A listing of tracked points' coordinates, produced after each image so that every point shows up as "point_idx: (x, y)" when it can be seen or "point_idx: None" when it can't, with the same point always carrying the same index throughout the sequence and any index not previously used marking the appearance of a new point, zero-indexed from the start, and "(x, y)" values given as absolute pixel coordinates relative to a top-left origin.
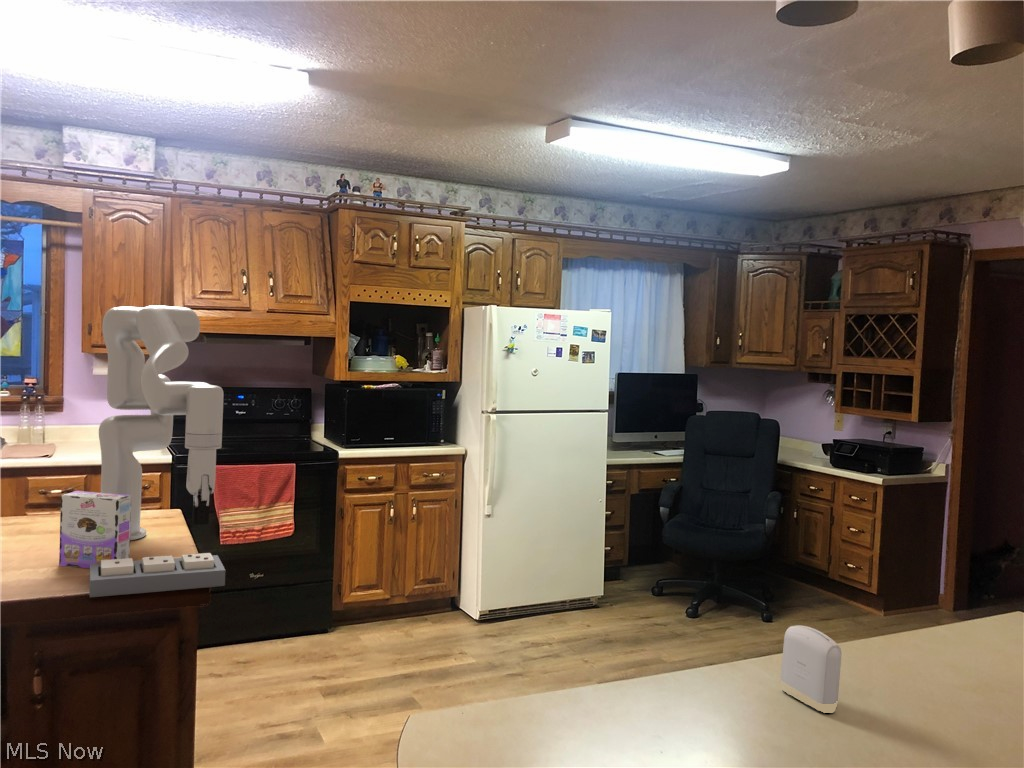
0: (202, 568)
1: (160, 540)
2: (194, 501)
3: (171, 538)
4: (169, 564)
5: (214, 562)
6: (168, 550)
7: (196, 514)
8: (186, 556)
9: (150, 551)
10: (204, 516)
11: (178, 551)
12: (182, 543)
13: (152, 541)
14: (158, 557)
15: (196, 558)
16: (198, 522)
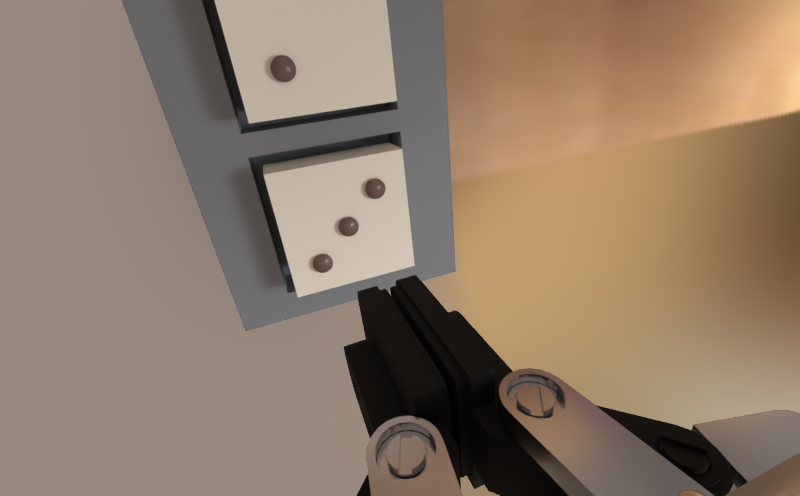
0: (270, 243)
1: (779, 40)
2: (518, 421)
3: (779, 77)
4: (241, 93)
5: None
6: (676, 72)
7: (384, 361)
8: (369, 173)
9: (691, 3)
10: (362, 410)
11: (654, 107)
12: (721, 116)
13: (783, 11)
14: (364, 24)
15: (331, 221)
16: (365, 330)
